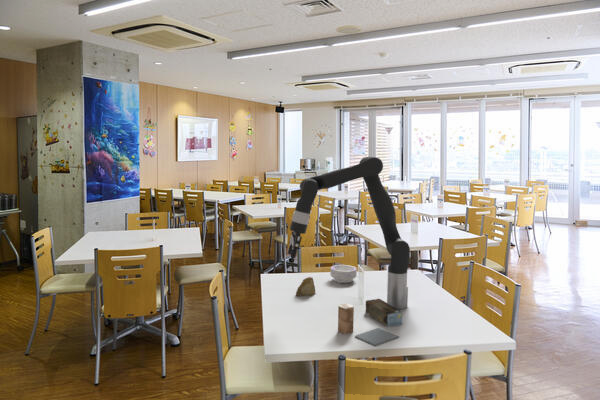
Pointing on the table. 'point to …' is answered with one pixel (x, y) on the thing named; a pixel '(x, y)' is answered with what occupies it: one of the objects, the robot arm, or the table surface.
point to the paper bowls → (343, 273)
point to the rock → (306, 287)
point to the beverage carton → (383, 312)
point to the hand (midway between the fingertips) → (291, 256)
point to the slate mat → (376, 336)
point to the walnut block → (345, 318)
